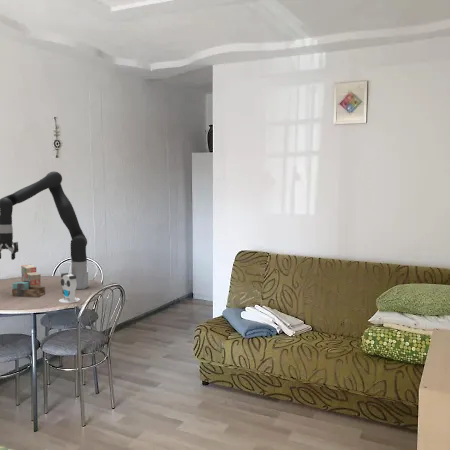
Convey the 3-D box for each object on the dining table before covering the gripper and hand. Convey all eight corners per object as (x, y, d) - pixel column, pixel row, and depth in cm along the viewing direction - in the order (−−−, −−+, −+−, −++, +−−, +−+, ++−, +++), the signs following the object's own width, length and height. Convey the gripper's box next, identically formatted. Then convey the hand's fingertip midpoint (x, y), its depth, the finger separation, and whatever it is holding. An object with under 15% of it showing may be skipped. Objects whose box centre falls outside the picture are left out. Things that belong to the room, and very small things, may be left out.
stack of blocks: (40, 288, 299) (40, 269, 297) (30, 290, 295) (30, 270, 294) (31, 282, 316) (31, 264, 314) (21, 283, 312) (21, 265, 311)
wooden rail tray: (45, 293, 286) (44, 281, 285) (38, 297, 278) (38, 284, 277) (19, 292, 288) (19, 280, 287) (12, 296, 279) (12, 283, 279)
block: (28, 292, 285) (28, 282, 285) (24, 294, 280) (23, 284, 280) (17, 291, 286) (17, 281, 285) (12, 293, 281) (12, 283, 280)
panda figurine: (55, 299, 273) (54, 274, 271) (73, 296, 281) (73, 271, 279) (64, 304, 264) (64, 277, 263) (83, 300, 272) (83, 274, 271)
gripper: (20, 231, 284) (21, 258, 286) (-2, 230, 286) (-2, 257, 288) (13, 233, 277) (13, 260, 278) (-10, 232, 279) (-9, 259, 280)
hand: (6, 259), depth 283 cm, fingers open, 8 cm apart
